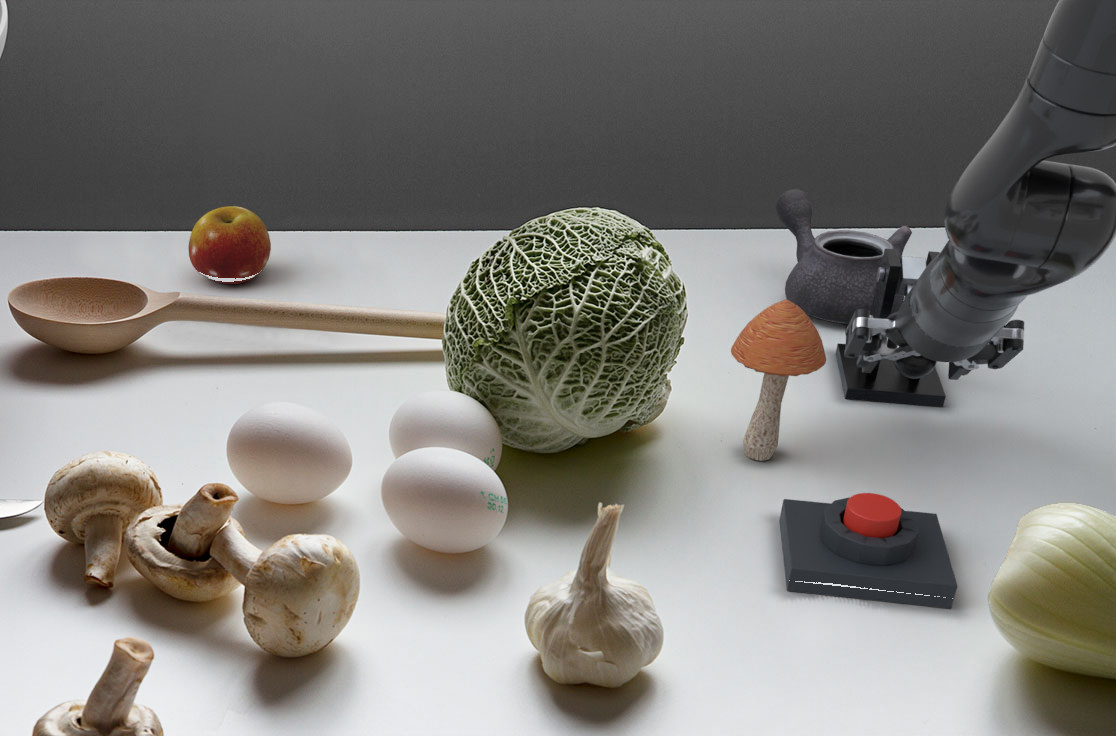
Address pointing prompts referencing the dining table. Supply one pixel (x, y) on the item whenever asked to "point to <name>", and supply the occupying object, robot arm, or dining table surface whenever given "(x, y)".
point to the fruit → (229, 244)
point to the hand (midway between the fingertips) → (908, 366)
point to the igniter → (872, 515)
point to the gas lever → (907, 279)
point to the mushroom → (776, 366)
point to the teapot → (834, 263)
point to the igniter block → (865, 556)
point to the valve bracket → (885, 376)
